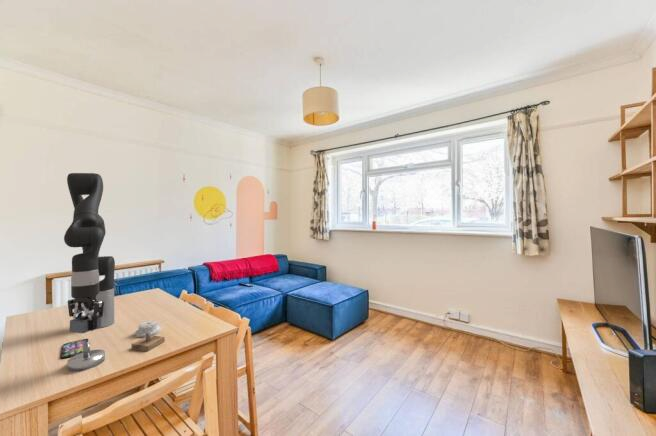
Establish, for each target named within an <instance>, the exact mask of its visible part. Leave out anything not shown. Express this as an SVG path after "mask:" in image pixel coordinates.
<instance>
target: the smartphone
mask: <svg viewBox="0 0 656 436" xmlns="http://www.w3.org/2000/svg"><path fill="white" fill-rule="evenodd" d="M85 342H89V338H82V339H79V340H75V341H70V342H67V343H66V342H65V343H64V344H63V345H62V346H61V353H60V354H61V355H60V360H66V359H70V358H71V357H73V356H75V355H77V354H80V353H83V345H84V343H85Z"/></svg>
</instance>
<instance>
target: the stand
mask: <svg viewBox="0 0 656 436" xmlns="http://www.w3.org/2000/svg"><path fill="white" fill-rule="evenodd" d="M165 337H166V336H165ZM165 337H164V336H161V335H160V336H159V335H151V332H148V333H146V337H141V338H139V339H138V340H137V341H134V342H132V343H131V349H132V350H138V351H143V352H149V351H151V350H152V349H154V348H156V347H158V346H160V345H161V344H163V343H164V342H165V340H166V339H165ZM165 343H166V342H165Z"/></svg>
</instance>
